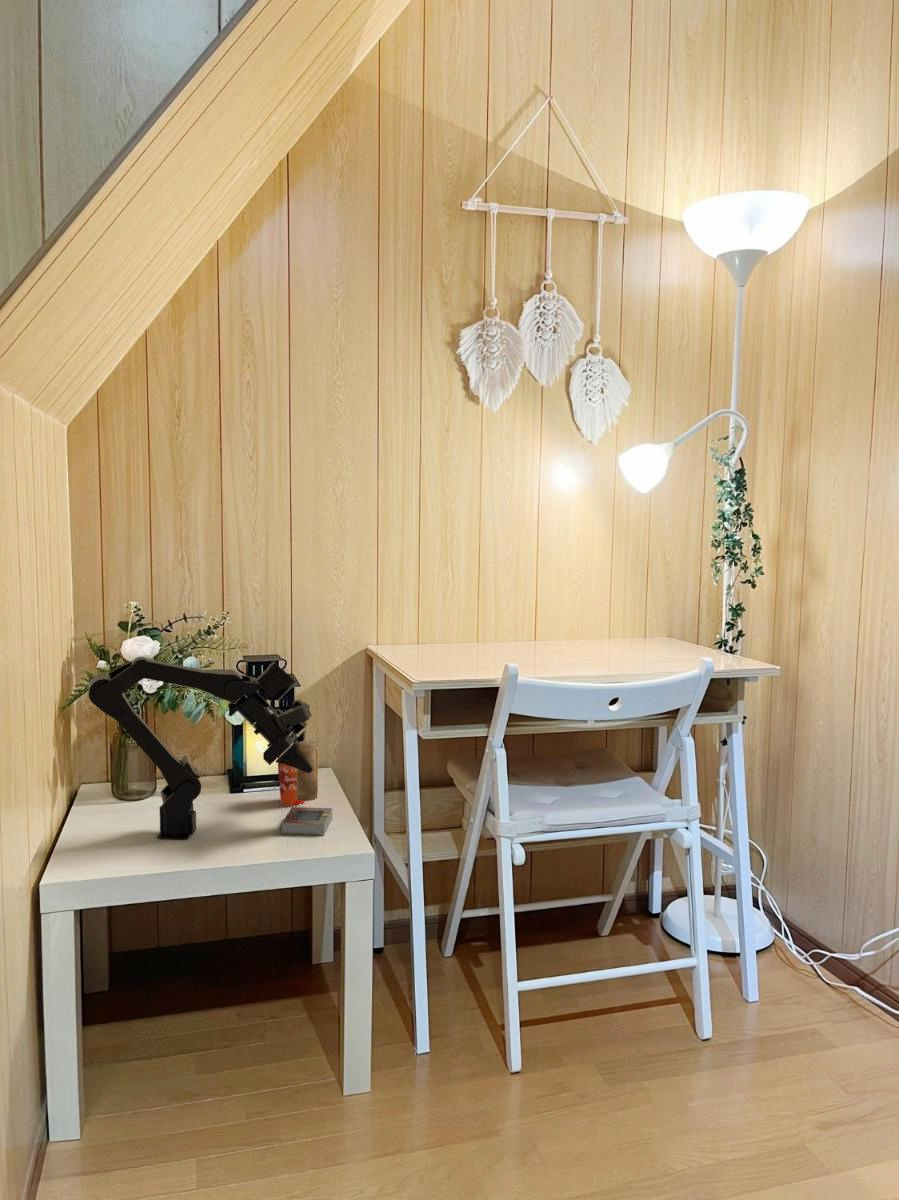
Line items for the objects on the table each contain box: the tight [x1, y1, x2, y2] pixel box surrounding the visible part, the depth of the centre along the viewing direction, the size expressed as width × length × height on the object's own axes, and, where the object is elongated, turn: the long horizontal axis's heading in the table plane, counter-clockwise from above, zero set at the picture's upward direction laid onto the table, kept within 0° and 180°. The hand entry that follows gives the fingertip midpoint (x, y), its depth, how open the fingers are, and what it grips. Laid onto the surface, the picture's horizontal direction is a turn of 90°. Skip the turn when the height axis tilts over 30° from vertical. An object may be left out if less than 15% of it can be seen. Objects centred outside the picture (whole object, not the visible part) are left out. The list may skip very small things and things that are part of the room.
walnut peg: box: [297, 740, 319, 802], centre depth 202 cm, size 4×4×12 cm
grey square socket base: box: [281, 806, 333, 836], centre depth 204 cm, size 9×10×3 cm
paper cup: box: [277, 757, 306, 807], centre depth 219 cm, size 8×8×14 cm
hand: (313, 768), depth 202 cm, fingers closed on walnut peg, 4 cm apart
